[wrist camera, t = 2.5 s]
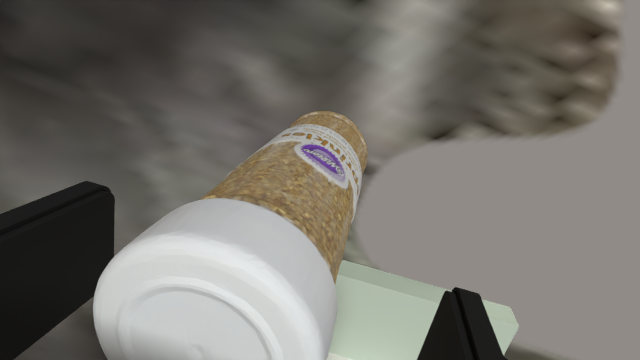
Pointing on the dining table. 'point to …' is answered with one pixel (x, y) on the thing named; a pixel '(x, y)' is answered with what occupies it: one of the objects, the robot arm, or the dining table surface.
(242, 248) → the sprinkles bottle
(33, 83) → the dining table surface
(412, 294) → the chute mount
